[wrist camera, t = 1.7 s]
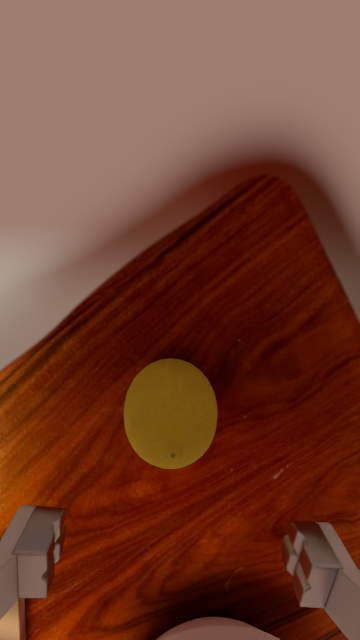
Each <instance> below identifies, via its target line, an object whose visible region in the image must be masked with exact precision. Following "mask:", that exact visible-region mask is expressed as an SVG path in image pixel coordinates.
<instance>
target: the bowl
mask: <svg viewBox="0 0 360 640" xmlns="http://www.w3.org/2000/svg"><path fill="white" fill-rule="evenodd" d="M157 640H280V639H279V638H277V637H275V636H272V635H270V634H268V633H266V632H263V631H261V630H259V629H257V628H255V627H253V626H251V625H249V624H247V623H245V622H242V621H238V620H235V619H230V618H222V617H203V618H197V619H194V620H190V621H187V622H185V623H182V624H180V625H178V626H176V627H174V628H172V629H170V630H168V631H167V632H165V633H164V634H162V635H161V636H160V637H159V638H158V639H157Z"/></svg>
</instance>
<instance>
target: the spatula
mask: <svg viewBox="0 0 360 640" xmlns="http://www.w3.org/2000/svg"><path fill="white" fill-rule="evenodd" d="M0 640H26V622H25V598H18V600H17V602H16V603H15V604H14V605H13V606H12V607H11V608H10V610H9V611H8V612H7V613H6V614H5V615H4V616H3V617H2V619H1V620H0Z"/></svg>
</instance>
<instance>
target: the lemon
mask: <svg viewBox="0 0 360 640" xmlns="http://www.w3.org/2000/svg"><path fill="white" fill-rule="evenodd" d="M217 416H218V411H217V403H216V397H215V393H214V391H213V389H212V387H211V385H210V382H209V381H208V379H207V378H206V377H205V375H204V374H203V373H202V372H201V371H200V370H199V369H198V368H197V367H195V366H194V365H192V364H191V363H188V362H186V361H183V360H180V359H172V358H169V359H161V360H158V361H156V362H153V363H151V364H149V365H148V366H146V367H145V368H143V369H142V370H141V371H140V372H139V373H138V375H137V376H136V377H135V378H134V379H133V381H132V383H131V385H130V387H129V389H128V391H127V394H126V399H125V405H124V422H125V430H126V434H127V436H128V439H129V441H130V443H131V446H132V448H133V449H134V450H135V451H136V452H137V454H138V455H139V456H140V457H141V458H142V459H144V460H145V461H146V462H148V463H150V464H152V465H154V466H157V467H160V468H165V469H177V468H181V467H185V466H187V465H189V464H191V463H193V462H195V461H196V460H197V459H199V458H200V457H201V456H202V455H203V454H204V453H205V451H206V450H207V449H208V448H209V446H210V444H211V442H212V439H213V437H214V435H215V431H216V424H217Z"/></svg>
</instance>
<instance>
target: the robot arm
mask: <svg viewBox="0 0 360 640" xmlns="http://www.w3.org/2000/svg"><path fill="white" fill-rule="evenodd" d="M65 519H66V509H65V508H55V507H44V506H30V505H22V506H21V507H20V508H19V509H18V510H17V512H16V514H15V516H14V518H13V519H12V521H11V523H10V525H9V527H8V528H7V530H6V532H5V534H4V536H3V537H2V539H1V541H0V620H1V619H2V617H3V616H4V615H5V614H6V613H7V612H8V611H9V610H10V608H11V607H12V606H13V605H14V604H15V603H16V602H17V600H18V598H46V597H47V594H48V591H49V588H50V585H51V582H52V579H53V577H54V567H55V563H56V562H57V561H58V560H59V559H60V556H61V553H62V549H63V545H64V541H65V535H66V525H65V524H64V522H65ZM286 530H287V532H288V534H287V535H286V536H284V537H283V540H282V557H283V561H284V564H285V567H286V569H287V570H288V571H289V573H290V574H291V575H292V576H293V580H292V586H293V589H294V591H295V594H296V597H297V600H298V602H299V605H300V607H313V608H325V611H326V613H327V614H328V615H329V616H330V617H331V619H332V620H333V621H334V622H335V624H336V625H337V626H338V627H339V629H340V630H341V631H342V632H343V634H344V635H345V636H346V637H347V639H348V640H360V570H358V569H357V567H356V565H355V564H354V562H353V560H352V559H351V557H350V555H349V554H348V552H347V550H346V548H345V547H344V545H343V543H342V542H341V540H340V538H339V537H338V535H337V533H336V531H335V530H334V528H333V526H332V525H331V524H330V523H324V522H310V521H289V522H288V523H287V526H286Z"/></svg>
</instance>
